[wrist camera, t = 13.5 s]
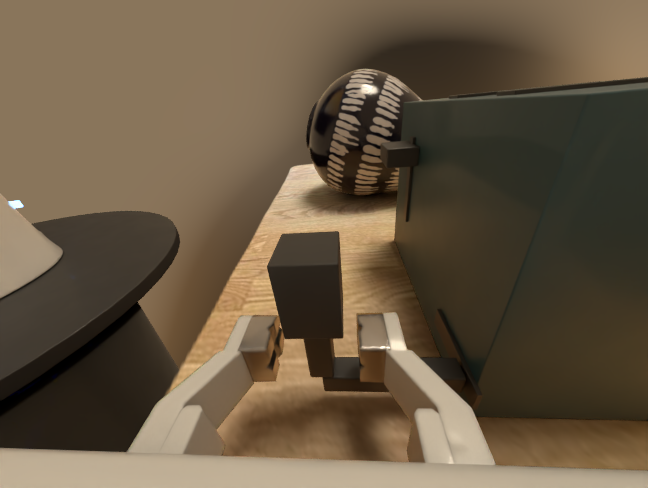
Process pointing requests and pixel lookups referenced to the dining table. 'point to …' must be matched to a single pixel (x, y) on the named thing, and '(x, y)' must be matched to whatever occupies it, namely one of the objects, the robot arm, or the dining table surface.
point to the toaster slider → (327, 311)
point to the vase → (357, 131)
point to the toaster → (532, 244)
